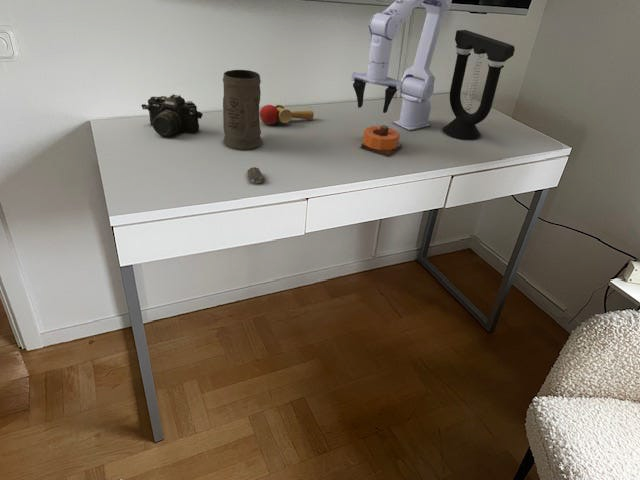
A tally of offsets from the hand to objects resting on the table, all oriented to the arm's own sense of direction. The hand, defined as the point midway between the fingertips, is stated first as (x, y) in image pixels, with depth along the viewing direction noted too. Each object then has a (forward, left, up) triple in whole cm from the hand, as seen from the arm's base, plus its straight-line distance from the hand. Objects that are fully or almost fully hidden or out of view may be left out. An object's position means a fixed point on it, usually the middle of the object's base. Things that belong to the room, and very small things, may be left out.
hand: (372, 109), depth 144 cm
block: (+42, +5, -10) cm, 44 cm away
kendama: (+13, -25, -10) cm, 30 cm away
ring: (-1, +4, -9) cm, 10 cm away
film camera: (+48, -33, -10) cm, 59 cm away
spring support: (-34, +9, -10) cm, 37 cm away
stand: (-1, +5, -10) cm, 11 cm away
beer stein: (+32, -18, -10) cm, 38 cm away
